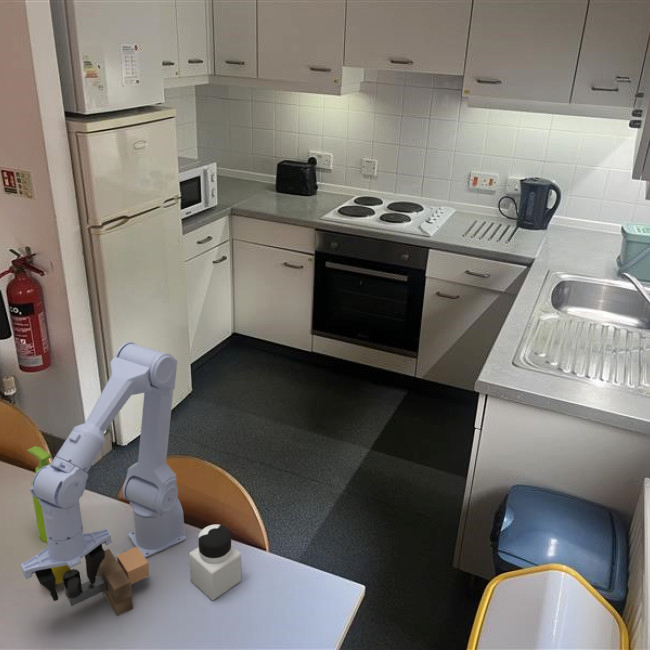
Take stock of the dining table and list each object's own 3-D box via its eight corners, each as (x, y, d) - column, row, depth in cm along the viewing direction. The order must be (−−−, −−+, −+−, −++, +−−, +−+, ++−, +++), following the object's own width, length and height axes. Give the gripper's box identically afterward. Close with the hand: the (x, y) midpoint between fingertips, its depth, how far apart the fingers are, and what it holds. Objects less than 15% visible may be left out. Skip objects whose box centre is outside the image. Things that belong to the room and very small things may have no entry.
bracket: (112, 574, 124) (109, 548, 121) (133, 608, 117) (130, 582, 114) (96, 581, 122) (93, 555, 119) (117, 616, 115) (114, 589, 112)
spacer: (138, 560, 123) (137, 546, 122) (149, 576, 120) (148, 562, 118) (118, 569, 121) (116, 555, 120) (129, 586, 118) (127, 572, 116)
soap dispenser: (56, 516, 137) (44, 439, 129) (75, 531, 134) (64, 452, 125) (30, 531, 133) (16, 452, 124) (50, 547, 129) (37, 466, 121)
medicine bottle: (242, 581, 124) (241, 533, 119) (212, 601, 119) (211, 553, 114) (218, 561, 128) (217, 514, 123) (189, 580, 123) (187, 532, 118)
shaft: (143, 562, 123) (141, 538, 120) (149, 571, 121) (147, 547, 118) (64, 598, 114) (60, 573, 112) (69, 609, 112) (65, 584, 110)
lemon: (62, 596, 118) (56, 564, 115) (35, 590, 119) (29, 558, 116) (78, 574, 123) (73, 542, 120) (52, 568, 124) (47, 537, 121)
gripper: (25, 562, 100) (37, 623, 106) (115, 525, 109) (121, 584, 114) (13, 535, 105) (25, 596, 111) (100, 502, 114) (106, 560, 119)
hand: (73, 588), depth 113 cm, fingers open, 6 cm apart
